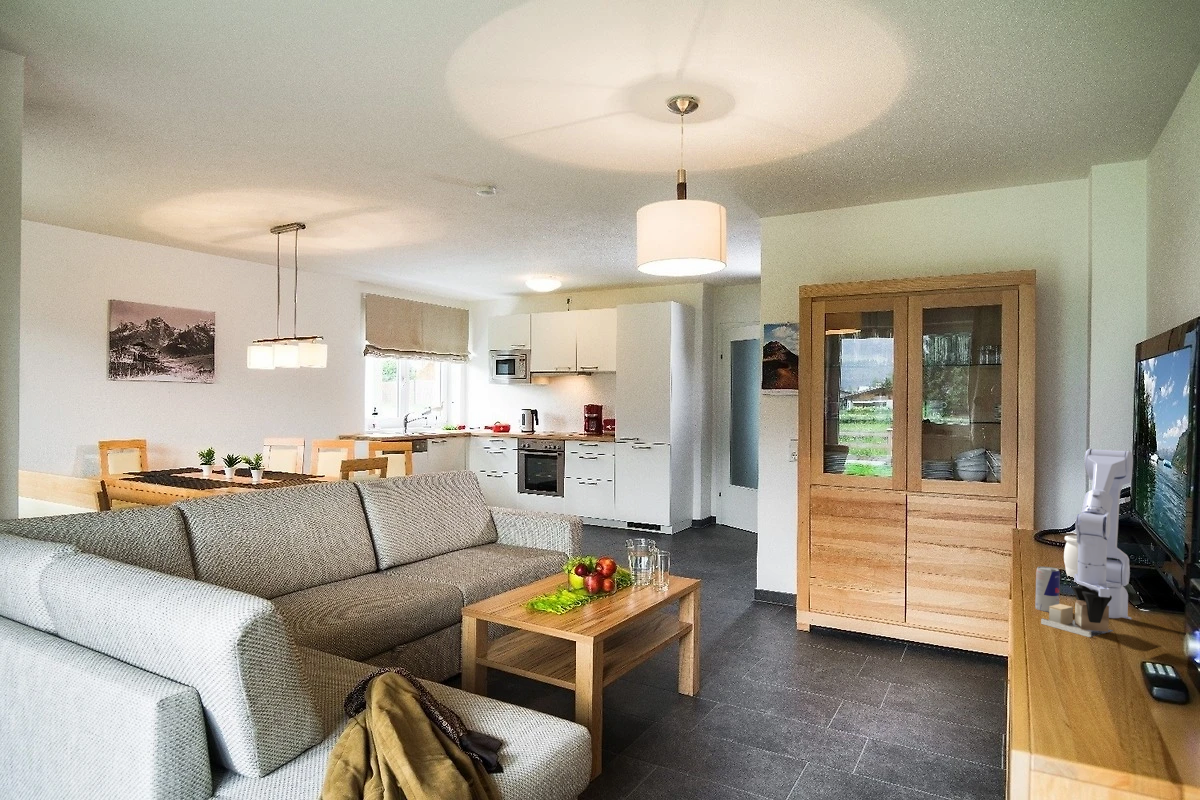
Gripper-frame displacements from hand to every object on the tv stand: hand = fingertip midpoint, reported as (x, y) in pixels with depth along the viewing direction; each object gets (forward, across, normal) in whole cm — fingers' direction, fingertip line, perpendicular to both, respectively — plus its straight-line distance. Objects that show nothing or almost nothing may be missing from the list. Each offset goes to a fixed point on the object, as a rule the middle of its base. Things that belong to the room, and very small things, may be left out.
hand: (1090, 619), depth 173 cm
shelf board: (+4, +2, +2) cm, 5 cm away
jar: (+4, +52, -19) cm, 56 cm away
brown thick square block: (+2, 0, 0) cm, 2 cm away
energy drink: (+4, +17, +4) cm, 18 cm away
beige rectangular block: (+3, +5, +5) cm, 7 cm away
